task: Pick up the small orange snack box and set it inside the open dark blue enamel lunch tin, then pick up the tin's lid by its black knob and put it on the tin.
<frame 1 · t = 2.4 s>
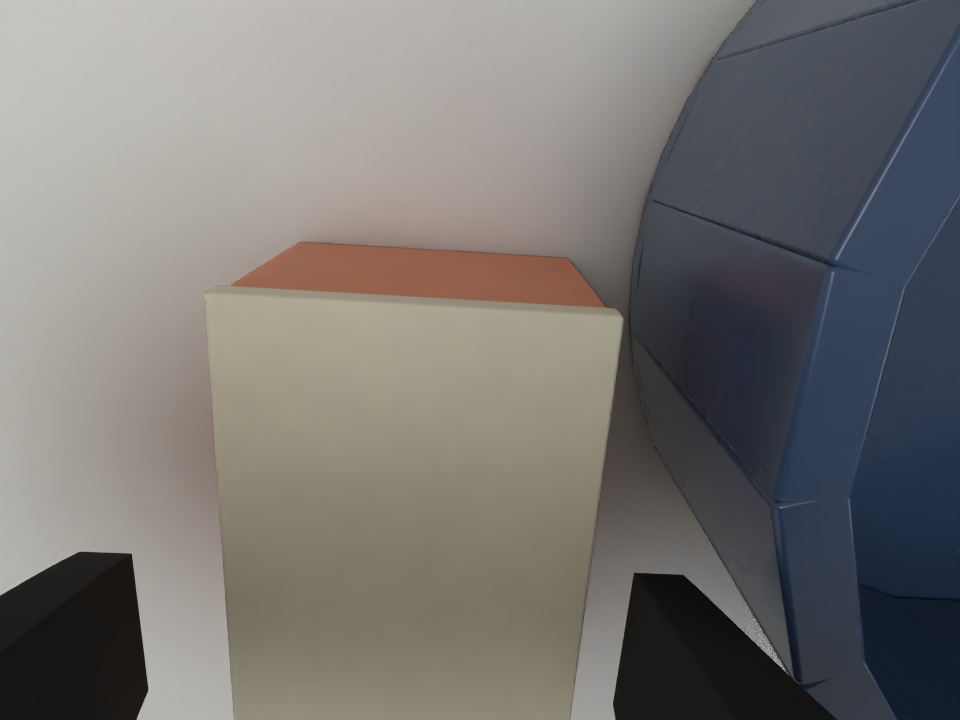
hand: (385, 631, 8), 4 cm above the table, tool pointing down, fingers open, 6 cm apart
snack box: (425, 465, 12), on the table
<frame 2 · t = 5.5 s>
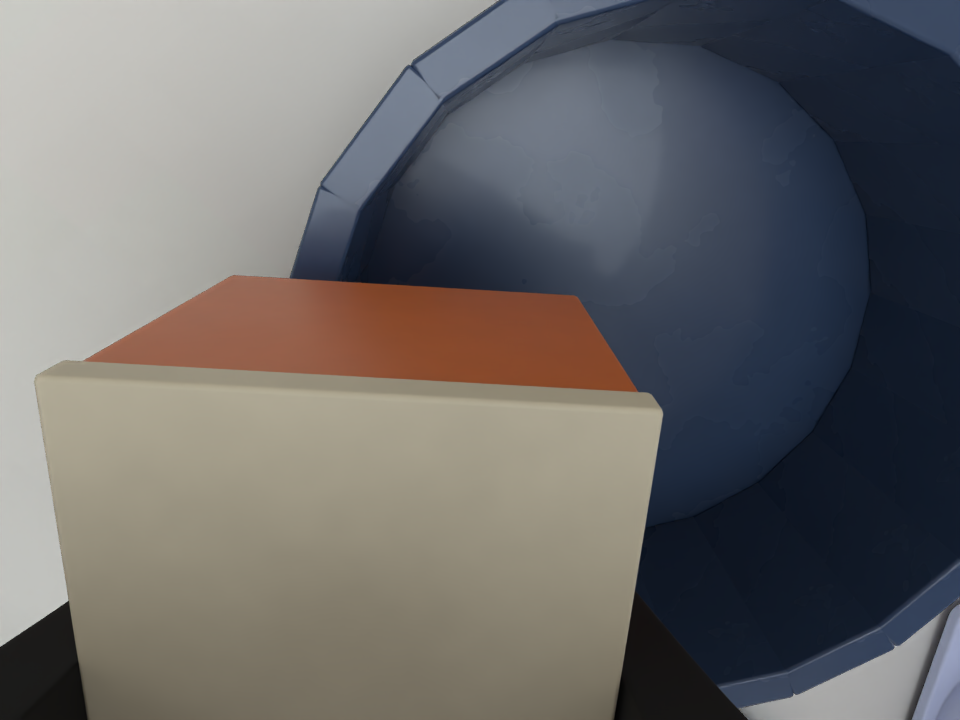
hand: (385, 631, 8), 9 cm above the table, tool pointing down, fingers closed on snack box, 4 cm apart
lunch tin: (613, 310, 17), on the table
snack box: (398, 549, 10), point 8 cm above the table, touching gripper
when the fingers open (2 cm above the table, at t = 8.1 s): snack box stays where it is, resting on lunch tin.
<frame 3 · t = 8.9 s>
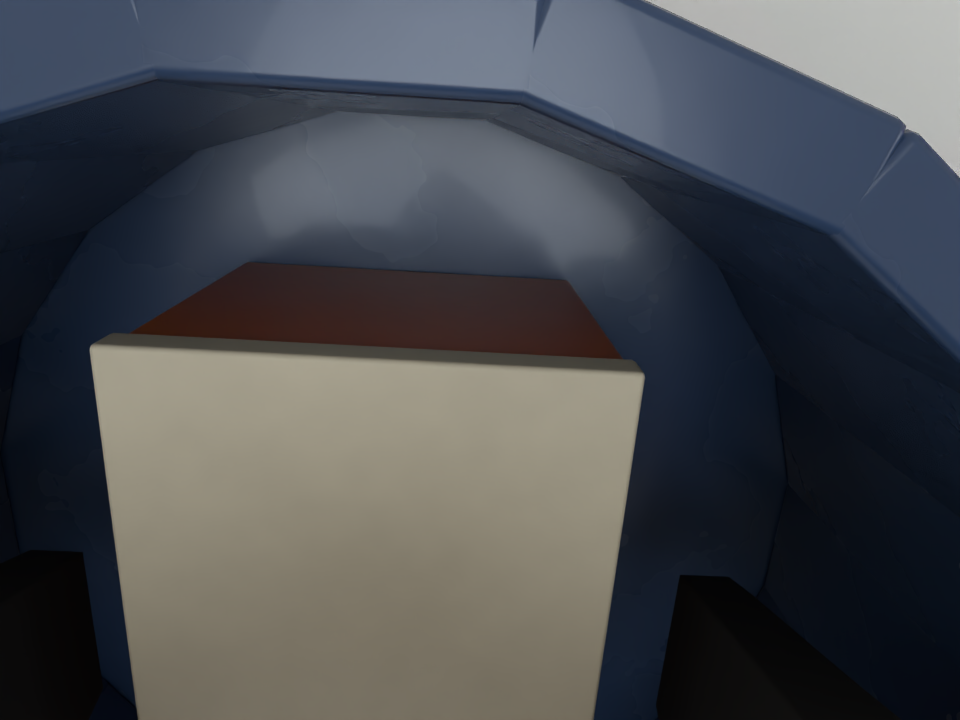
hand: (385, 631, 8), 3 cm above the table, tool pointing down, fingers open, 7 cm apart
lunch tin: (404, 502, 11), on the table
snack box: (401, 520, 11), resting on lunch tin
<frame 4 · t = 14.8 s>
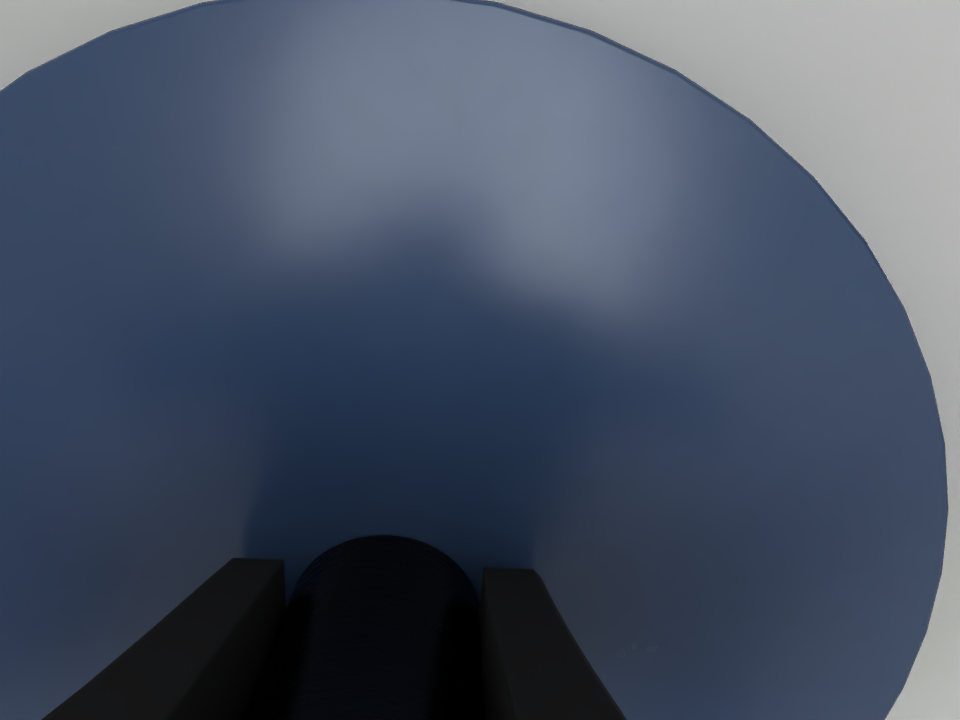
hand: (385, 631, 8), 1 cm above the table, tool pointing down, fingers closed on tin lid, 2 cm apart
tin lid: (390, 589, 9), point 1 cm above the table, touching gripper
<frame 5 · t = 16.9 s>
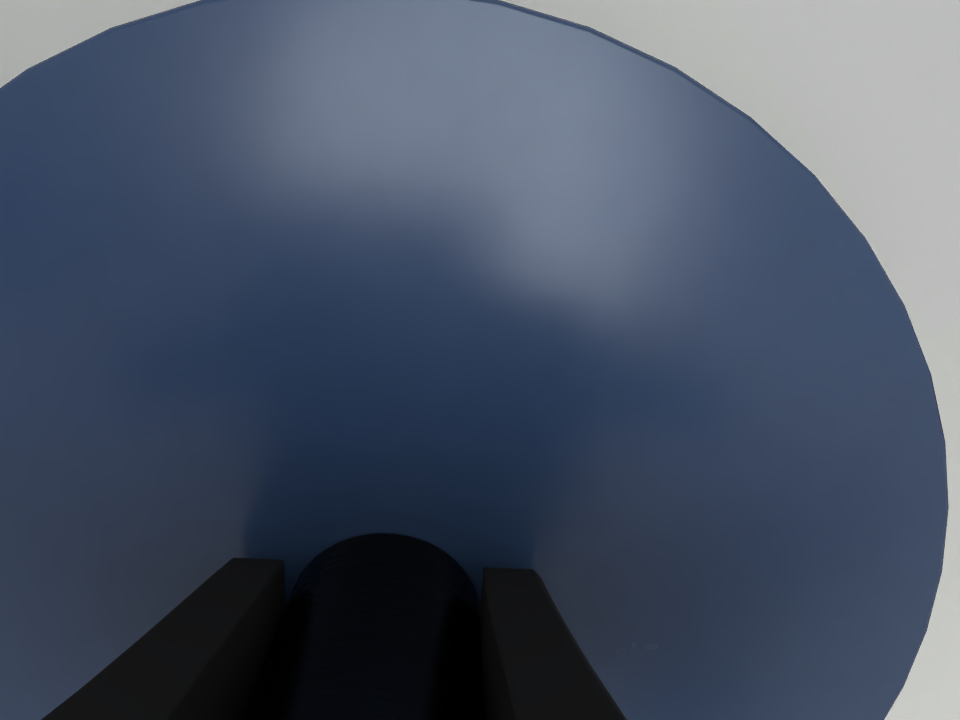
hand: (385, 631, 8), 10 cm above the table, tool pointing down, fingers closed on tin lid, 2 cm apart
tin lid: (390, 587, 9), point 9 cm above the table, touching gripper
when the fingers open (7 cm above the table, at t = 19.3 s): tin lid stays where it is, resting on lunch tin.
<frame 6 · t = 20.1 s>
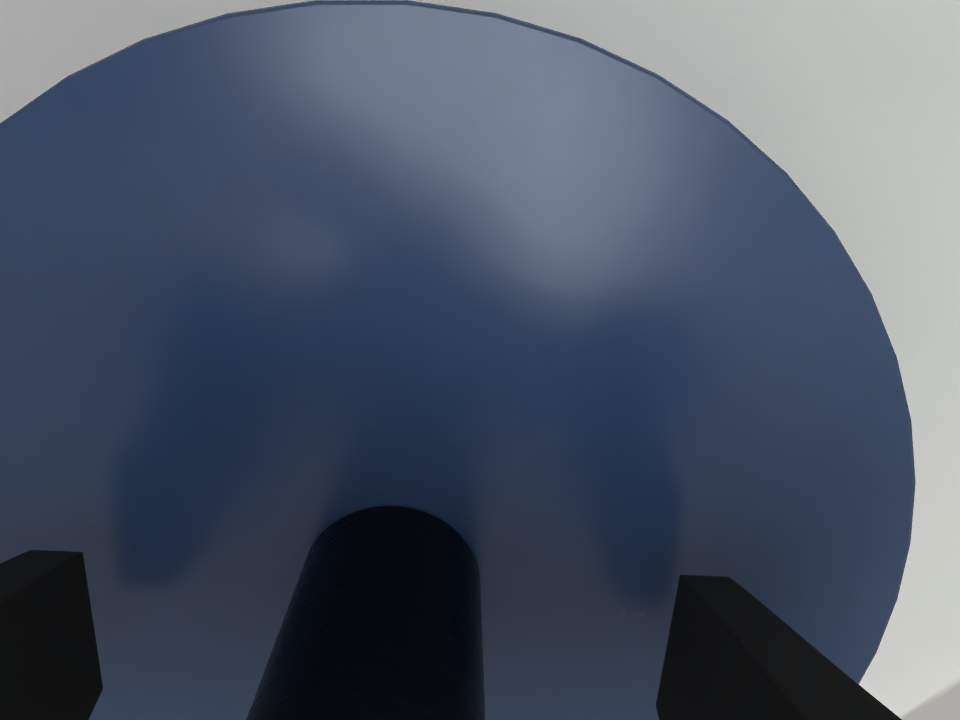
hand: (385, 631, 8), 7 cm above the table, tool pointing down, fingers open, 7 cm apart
tin lid: (395, 559, 10), point 6 cm above the table, touching lunch tin
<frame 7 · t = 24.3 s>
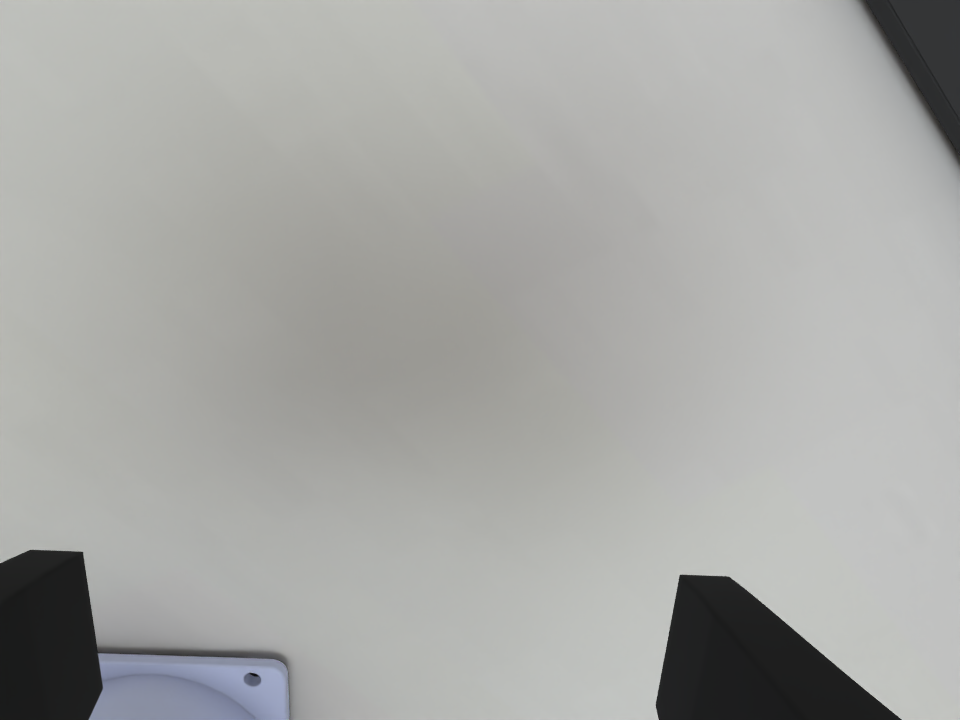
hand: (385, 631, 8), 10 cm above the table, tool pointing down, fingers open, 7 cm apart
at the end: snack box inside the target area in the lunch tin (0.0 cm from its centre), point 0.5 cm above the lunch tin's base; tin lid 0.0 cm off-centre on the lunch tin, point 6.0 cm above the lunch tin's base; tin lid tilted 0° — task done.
